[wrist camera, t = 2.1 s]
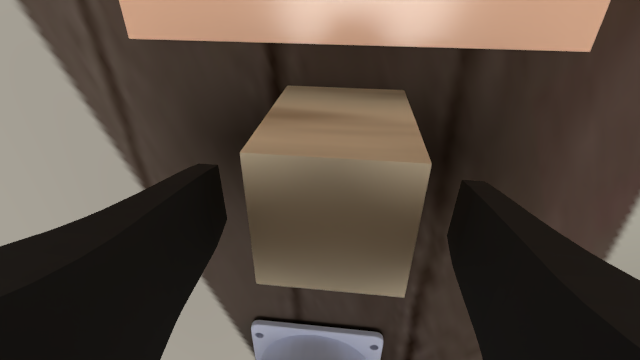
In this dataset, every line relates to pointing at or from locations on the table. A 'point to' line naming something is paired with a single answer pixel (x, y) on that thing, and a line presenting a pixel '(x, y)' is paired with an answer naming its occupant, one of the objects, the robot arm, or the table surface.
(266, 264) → the maple block
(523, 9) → the terracotta tile
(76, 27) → the table surface
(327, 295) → the table surface
